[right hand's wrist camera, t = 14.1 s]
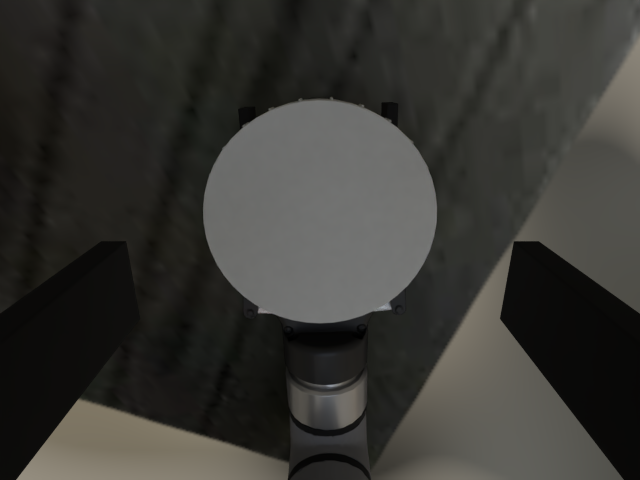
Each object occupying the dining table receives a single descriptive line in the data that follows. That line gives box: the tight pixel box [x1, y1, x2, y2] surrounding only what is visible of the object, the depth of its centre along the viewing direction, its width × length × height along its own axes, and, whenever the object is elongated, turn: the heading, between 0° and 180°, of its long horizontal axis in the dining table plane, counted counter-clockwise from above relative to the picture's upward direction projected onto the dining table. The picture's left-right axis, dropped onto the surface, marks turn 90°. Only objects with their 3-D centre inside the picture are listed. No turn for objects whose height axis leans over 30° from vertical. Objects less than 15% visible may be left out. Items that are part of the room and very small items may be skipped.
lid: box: [203, 97, 437, 323], centre depth 19 cm, size 11×11×2 cm
